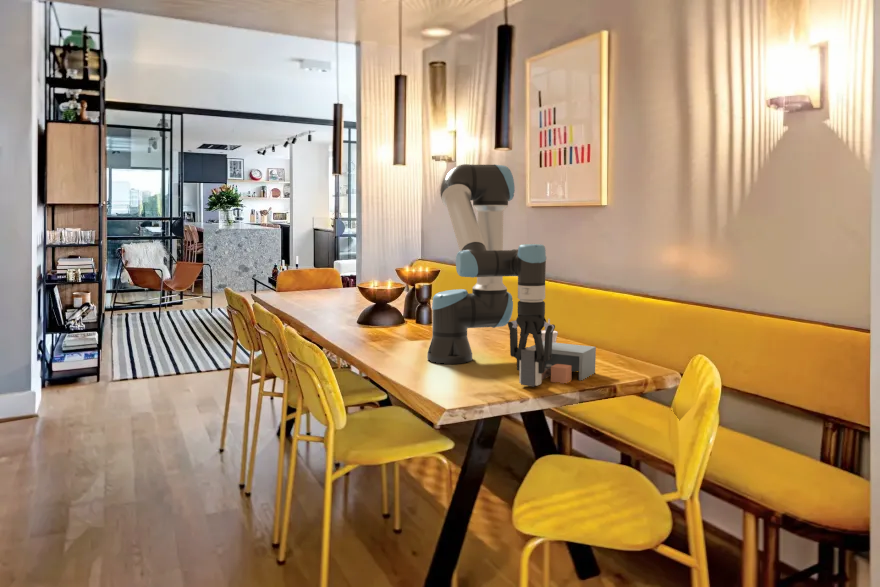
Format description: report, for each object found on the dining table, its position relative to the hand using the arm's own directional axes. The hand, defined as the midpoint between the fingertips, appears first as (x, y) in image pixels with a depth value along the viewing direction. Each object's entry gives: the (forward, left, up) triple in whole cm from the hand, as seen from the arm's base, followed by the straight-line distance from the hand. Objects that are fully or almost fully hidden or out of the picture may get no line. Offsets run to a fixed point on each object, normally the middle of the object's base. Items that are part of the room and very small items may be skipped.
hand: (530, 383), depth 183 cm
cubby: (+1, +21, -1) cm, 21 cm away
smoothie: (-11, +36, -1) cm, 38 cm away
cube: (+4, +11, -1) cm, 12 cm away
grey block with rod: (+2, +7, 0) cm, 7 cm away
